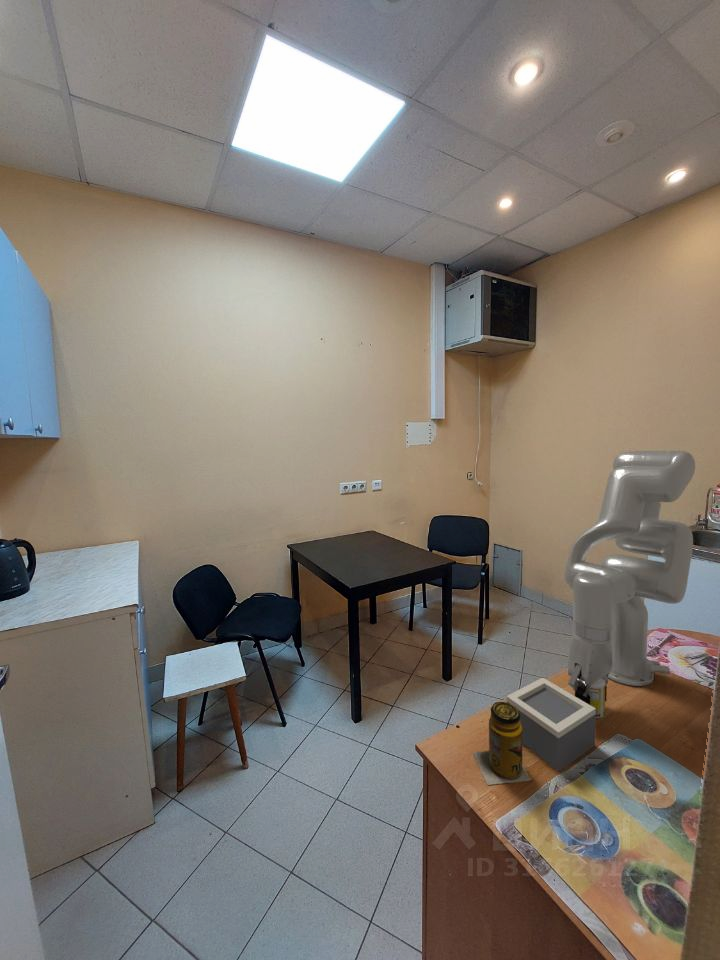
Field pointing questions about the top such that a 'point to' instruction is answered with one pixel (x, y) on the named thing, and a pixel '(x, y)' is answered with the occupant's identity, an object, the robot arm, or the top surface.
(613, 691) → the top surface
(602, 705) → the supplement bottle
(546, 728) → the stand
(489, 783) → the condiment
